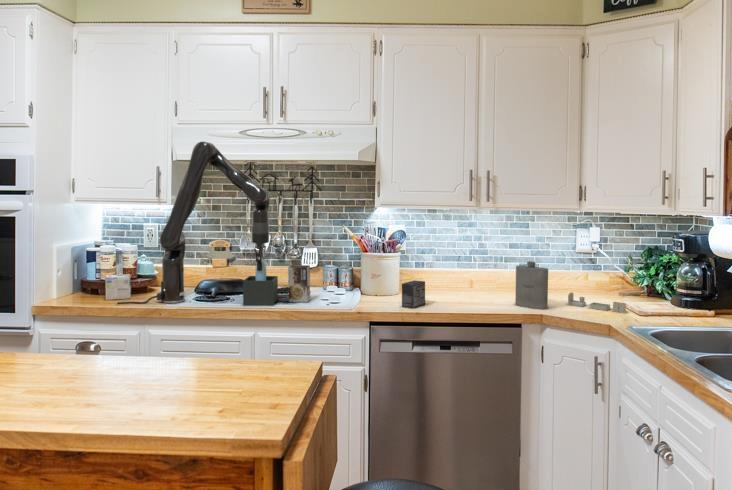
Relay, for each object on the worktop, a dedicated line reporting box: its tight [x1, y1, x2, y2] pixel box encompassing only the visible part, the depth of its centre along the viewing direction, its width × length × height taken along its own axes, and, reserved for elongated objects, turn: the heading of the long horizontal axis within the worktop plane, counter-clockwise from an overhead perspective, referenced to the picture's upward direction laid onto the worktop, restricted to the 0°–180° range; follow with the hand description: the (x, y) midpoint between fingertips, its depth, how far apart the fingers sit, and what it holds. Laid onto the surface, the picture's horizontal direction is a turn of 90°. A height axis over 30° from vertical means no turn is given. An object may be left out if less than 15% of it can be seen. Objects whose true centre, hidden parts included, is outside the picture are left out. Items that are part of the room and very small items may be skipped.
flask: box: [514, 260, 549, 310], centre depth 272 cm, size 15×6×20 cm, turn 48°
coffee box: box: [287, 264, 311, 303], centre depth 282 cm, size 9×6×16 cm
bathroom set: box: [567, 291, 627, 314], centre depth 269 cm, size 25×5×5 cm, turn 49°
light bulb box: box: [104, 273, 132, 301], centre depth 286 cm, size 11×7×11 cm, turn 108°
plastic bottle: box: [254, 259, 267, 281], centre depth 277 cm, size 5×5×10 cm
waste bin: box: [242, 275, 279, 307], centre depth 278 cm, size 13×13×11 cm
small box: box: [401, 280, 426, 309], centre depth 273 cm, size 11×6×10 cm, turn 145°
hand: (260, 269), depth 277 cm, fingers closed on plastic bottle, 4 cm apart
